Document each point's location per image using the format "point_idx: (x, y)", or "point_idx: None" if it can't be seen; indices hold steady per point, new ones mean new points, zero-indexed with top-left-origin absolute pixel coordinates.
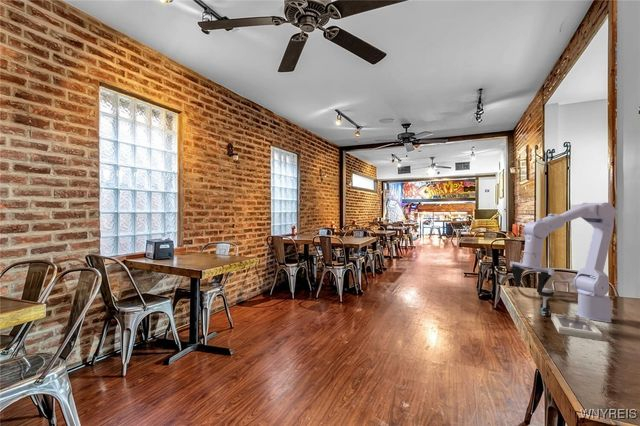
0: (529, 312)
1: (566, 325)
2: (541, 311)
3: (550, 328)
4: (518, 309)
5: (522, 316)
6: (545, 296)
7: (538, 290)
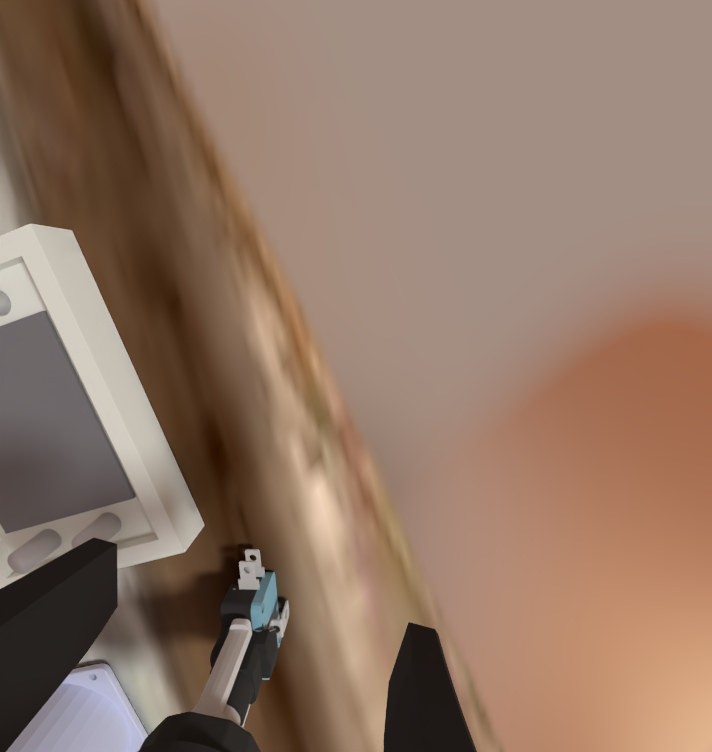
0: (345, 575)
1: (38, 349)
2: (265, 588)
3: (142, 305)
4: (420, 593)
5: (354, 442)
6: (188, 712)
7: (72, 556)
